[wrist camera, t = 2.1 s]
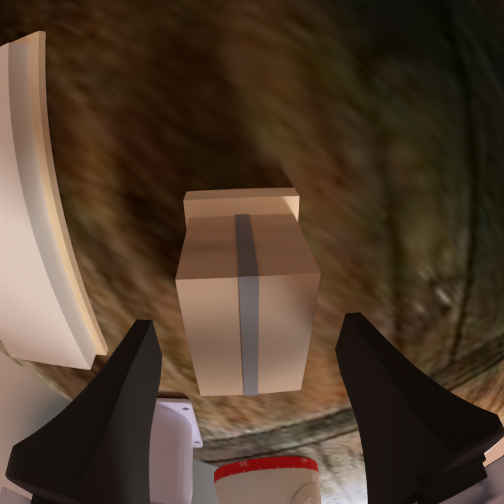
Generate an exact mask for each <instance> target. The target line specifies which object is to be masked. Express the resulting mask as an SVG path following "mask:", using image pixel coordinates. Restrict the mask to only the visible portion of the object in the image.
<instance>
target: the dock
mask: <svg viewBox="0 0 504 504" xmlns="http://www.w3.org/2000/svg"><path fill="white" fill-rule="evenodd" d="M45 40H46V32H45V31H37V32H35V33H32V34H30V35H27V36H25V37H23V38H20V39H18V40H16V41H14V42H11V43H7V44H5V45H3V46H1V47H0V340H1V342H2V343H3V345H4V346H5V348H6V350H7V351H8V353H9V354H10V356H11V357H14V358H19V359H24V360H29V361H34V362H40V363H46V364H52V365H58V366H65V367H72V368H80V369H88V370H91V367H92V364H93V361H94V358H95V355H107V351H108V347H107V344H106V342H105V340H104V337H103V335H102V332H101V330H100V327H99V325H98V322H97V320H96V317H95V315H94V312H93V309H92V307H91V304H90V301H89V298H88V296H87V293H86V290H85V287H84V284H83V281H82V278H81V275H80V272H79V268H78V265H77V262H76V259H75V255H74V252H73V248H72V245H71V241H70V237H69V233H68V230H67V226H66V222H65V217H64V213H63V209H62V204H61V200H60V195H59V190H58V185H57V179H56V174H55V168H54V162H53V155H52V149H51V141H50V133H49V124H48V113H47V100H46V79H45Z"/></svg>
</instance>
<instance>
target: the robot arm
mask: <svg viewBox="0 0 504 504" xmlns="http://www.w3.org/2000/svg"><path fill="white" fill-rule="evenodd" d="M335 350H336V355H337V360H338V365H339V369H340V373H341V376H342V379H343V382H344V385H345V388H346V391H347V394H348V396H349V399H350V402H351V405H352V408H353V411H354V414H355V417H356V420H357V424H358V428H359V433H360V438H361V443H362V449H363V456H364V462H365V470H366V480H367V495H368V504H504V455H503V456H502V457H500V458H499V459H497V460H495V461H494V462H492V463H491V464H489V465H487V466H486V467H484V466H483V462H484V461H485V460H486V458H485V455H484V453H485V452H486V451H487V450H489V449H490V448H491V447H492V446H494V445H495V444H496V443H497V442H498V441H499V440H501V439H502V438H503V436H504V427H503V425H502V423H501V421H500V419H499V417H498V415H497V414H494V413H492V412H489V411H487V410H484V409H482V408H480V407H477V406H475V405H473V404H471V403H469V402H467V401H465V400H463V399H462V398H460V397H458V396H456V395H455V394H453V393H451V392H450V391H448V390H447V389H445V388H443V387H442V386H440V385H439V384H438V383H436V382H435V381H433V380H432V379H431V378H429V377H428V376H427V375H425V374H424V373H423V372H422V371H420V370H419V369H418V368H417V367H416V366H414V365H413V364H412V363H411V362H410V361H409V360H408V359H407V358H405V357H404V356H403V355H402V354H401V353H400V352H399V351H398V350H397V349H396V348H395V347H394V346H393V345H392V344H391V343H390V342H389V341H388V340H387V339H386V338H385V337H384V336H383V335H382V334H381V333H380V332H379V331H378V330H377V329H376V328H375V327H374V326H373V325H372V324H371V323H370V322H369V321H368V320H367V319H366V318H365V317H364V316H363V315H362V314H361V313H360V312H358V313H347V314H346V315H345V318H344V322H343V325H342V329H341V332H340V335H339V339H338V342H337V345H336V348H335ZM161 364H162V354H161V350H160V347H159V343H158V339H157V336H156V332H155V328H154V325H153V321H152V320H136V321H135V322H134V324H133V325H132V327H131V328H130V329H129V331H128V332H127V334H126V335H125V337H124V338H123V340H122V341H121V343H120V344H119V345H118V347H117V348H116V350H115V351H114V352H113V354H112V355H111V356H110V358H109V359H108V360H107V362H106V363H105V364H104V366H103V367H102V368H101V369H100V371H99V372H98V373H97V374H96V376H95V377H94V378H93V379H92V381H91V382H90V383H89V384H88V385H87V386H86V387H85V389H84V390H83V391H82V392H81V393H80V394H79V395H78V396H77V397H76V398H75V399H74V400H73V401H72V402H71V403H70V404H69V405H68V406H67V407H66V408H65V409H64V410H63V411H62V412H61V413H59V414H58V415H57V416H56V417H55V418H53V419H52V420H51V421H50V422H48V423H47V424H46V425H45V426H43V427H42V428H40V429H39V430H38V431H36V432H35V433H34V434H32V435H30V436H29V437H27V438H26V439H24V440H22V441H21V442H19V443H18V444H16V445H14V446H13V448H12V452H11V455H10V458H9V462H8V466H7V470H6V474H5V475H6V477H7V479H9V480H10V481H12V482H13V483H14V484H16V485H18V486H20V487H21V488H23V489H24V490H26V491H28V492H30V493H31V494H33V496H32V500H31V499H29V498H26V497H24V496H22V495H20V494H18V493H15V492H14V491H11V490H9V489H7V488H5V487H2V488H1V493H0V504H191V498H192V477H193V475H192V474H193V447H196V448H200V447H203V441H202V438H201V434H200V431H199V428H198V424H197V421H196V417H195V414H194V410H193V406H192V403H191V401H190V400H188V399H173V398H157V394H158V389H159V384H160V377H161Z"/></svg>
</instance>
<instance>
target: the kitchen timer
mask: <svg viewBox="0 0 504 504" xmlns="http://www.w3.org/2000/svg"><path fill="white" fill-rule="evenodd" d="M214 484H215V490H216V494H217V497H218V499H219V502H220V504H321V493H320V489H319V471H318V466H317V463H316V461H314V460H312V459H310V458H303V457H285V456H284V457H267V458H259V459H250V460H245V461H240V462H235V463H232V464H228V465H225V466H223V467H221V468H218V469H217V470H216V471H215V473H214Z"/></svg>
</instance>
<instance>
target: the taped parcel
mask: <svg viewBox="0 0 504 504" xmlns="http://www.w3.org/2000/svg"><path fill="white" fill-rule="evenodd" d="M183 202H184V212H185V221H186V229H187V231H186V236H185V240H184V244H183V248H182V252H181V257H180V261H179V266H178V270H177V275H176V279H175V281H176V286H177V291H178V297H179V302H180V307H181V312H182V317H183V322H184V326H185V331H186V336H187V340H188V345H189V349H190V353H191V358H192V362H193V366H194V370H195V374H196V378H197V382H198V386H199V390H200V394H201V396H219V395H244V396H252V395H258V394H260V393H272V392H283V391H293V390H300V389H301V385H302V380H303V375H304V370H305V364H306V359H307V354H308V349H309V343H310V337H311V332H312V326H313V320H314V314H315V308H316V301H317V295H318V288H319V281H320V274H321V272H320V270H319V268H318V266H317V263H316V261H315V259H314V257H313V254H312V252H311V250H310V248H309V246H308V243H307V241H306V239H305V237H304V235H303V232H302V230H301V228H300V226H299V224H298V210H299V195H298V193H297V191H296V190H295V188H253V189H226V190H206V191H189V192H186V194H185V197H184V200H183Z"/></svg>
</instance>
